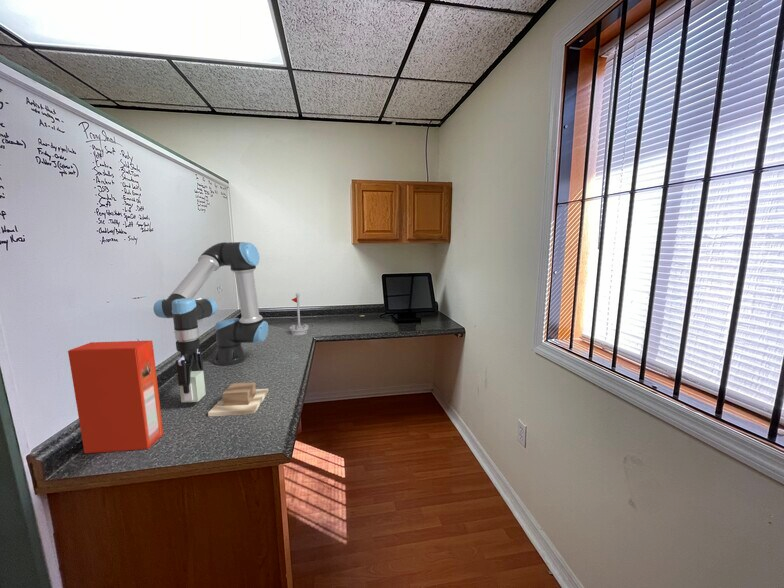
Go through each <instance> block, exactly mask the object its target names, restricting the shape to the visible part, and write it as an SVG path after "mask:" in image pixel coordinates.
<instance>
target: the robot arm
mask: <svg viewBox="0 0 784 588" xmlns="http://www.w3.org/2000/svg"><path fill="white" fill-rule="evenodd" d="M197 261H198V262H197V263H196V264H195V265H194V266H193V267H192V269H191V270H190V271H189V272H188V273H187V274H186V276H185V277H184V278H183V279H182V280H181V282H180V283H179V284H178V285H177V287H176V288H175V289H174V290H173V291H172V293H170V295H169V296H168V297H167V298H166V299H164V298H162V299H158V300H157V301H156V302H155V303H154V304H153V313H154V314H155V316H156V317H157V318H162V319H173V328H174V332H173V333H174V337H175V347H176V348H175V349H176V351H177V352H179V353H180V358H179V359H177V360H175V365H176V369H177V370H176V371H177V382H178V383H177V384H178V387H180V386H183V391H184V400H185V401H192V400H193V393H192V384H190V375H191V371H203V372H204V364H203V357H202V348H200V347H201V344H200V343H201V341H200V333H199V332H200V331H199V325H198V321H200V320H202V319H206V318H210V317H212V316H213V315H215V314H216V313H217V311H218V304H217V301H215V300H214V299H212V298H209V297H208V298H202V299H195V296H196V295H197V294H198V292H199V291H200V290H201V289H202V288H203V286H204V284H206V282H207V281H208V279H209V278H210V276H211V275H212V274H213V273H214V272H216V271H217V270H219V269H220V268H221V267H226V266H227V267H229V266H230V271H231V272H232V273H234V275H235V276H234V277H235V283H236V289H237V295H238V302H239V309H240V314H241V317H240V318H239V317H231V318H225V319H221V320H219V321H217V322H216V323H215V335H216V336H215V337H216V338H215V339H216V352H215V356H214V364H215V365H217V366H231V365H235V364H238V363H242V362H243V361H245V360H246V353H245V351H244V349H243V346H242V343H243V344H245V343H246V344H247V343H248V344H250V343H251V344H256V343H257V344H258V343H259V344H260V343H263V342H264V341H265V340H266V339H267V337H268V334H269V324H268V322H267V321H266V320H264V317H263V316H262V315H261V314H260V310H259V304H258V303H259V302H258V296H257V289H256V283H255V274H254V271H255V270H256V269H257V266H258V265H259V262H260V253H259V251H258V248H257V247H256V246H255V244H253V243H252V242H244V241H239V242H237V241H235V242H233V241H232V242H224V241H223V242H218V243H216V244H213V245H211V246H210V247H208V248H207V249H206V250H204V251H203V253H201V255H199V257H198V259H197Z"/></svg>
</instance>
